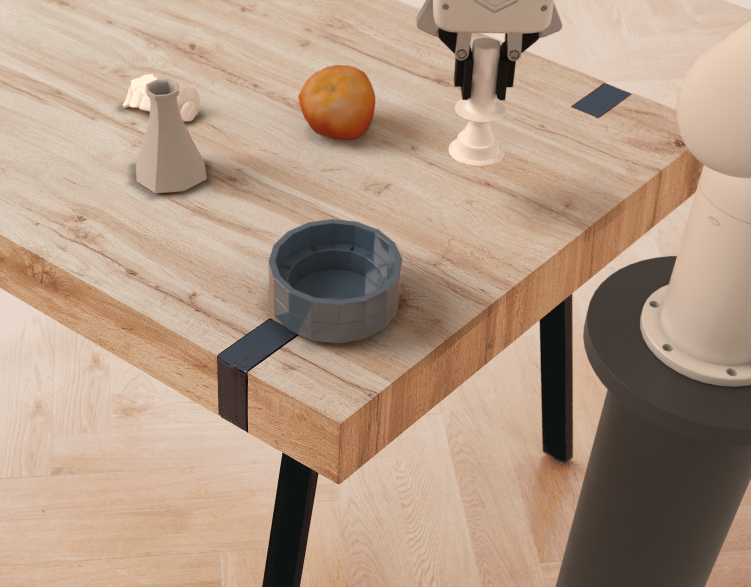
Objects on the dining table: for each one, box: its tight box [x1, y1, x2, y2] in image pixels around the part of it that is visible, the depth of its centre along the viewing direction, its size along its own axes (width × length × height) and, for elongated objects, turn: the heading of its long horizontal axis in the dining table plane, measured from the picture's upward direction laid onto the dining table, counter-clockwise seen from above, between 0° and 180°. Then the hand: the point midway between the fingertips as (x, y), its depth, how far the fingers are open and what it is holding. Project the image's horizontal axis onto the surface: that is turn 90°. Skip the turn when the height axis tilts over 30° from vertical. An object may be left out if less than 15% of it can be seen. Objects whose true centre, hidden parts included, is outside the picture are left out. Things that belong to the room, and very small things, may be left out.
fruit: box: [297, 64, 376, 142], centre depth 114 cm, size 8×8×8 cm
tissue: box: [122, 73, 201, 122], centre depth 116 cm, size 6×8×4 cm
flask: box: [135, 78, 208, 194], centre depth 105 cm, size 7×7×10 cm
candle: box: [448, 37, 507, 168], centre depth 99 cm, size 5×5×12 cm
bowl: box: [268, 218, 403, 344], centre depth 93 cm, size 11×11×5 cm
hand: (482, 91), depth 98 cm, fingers closed on candle, 2 cm apart
